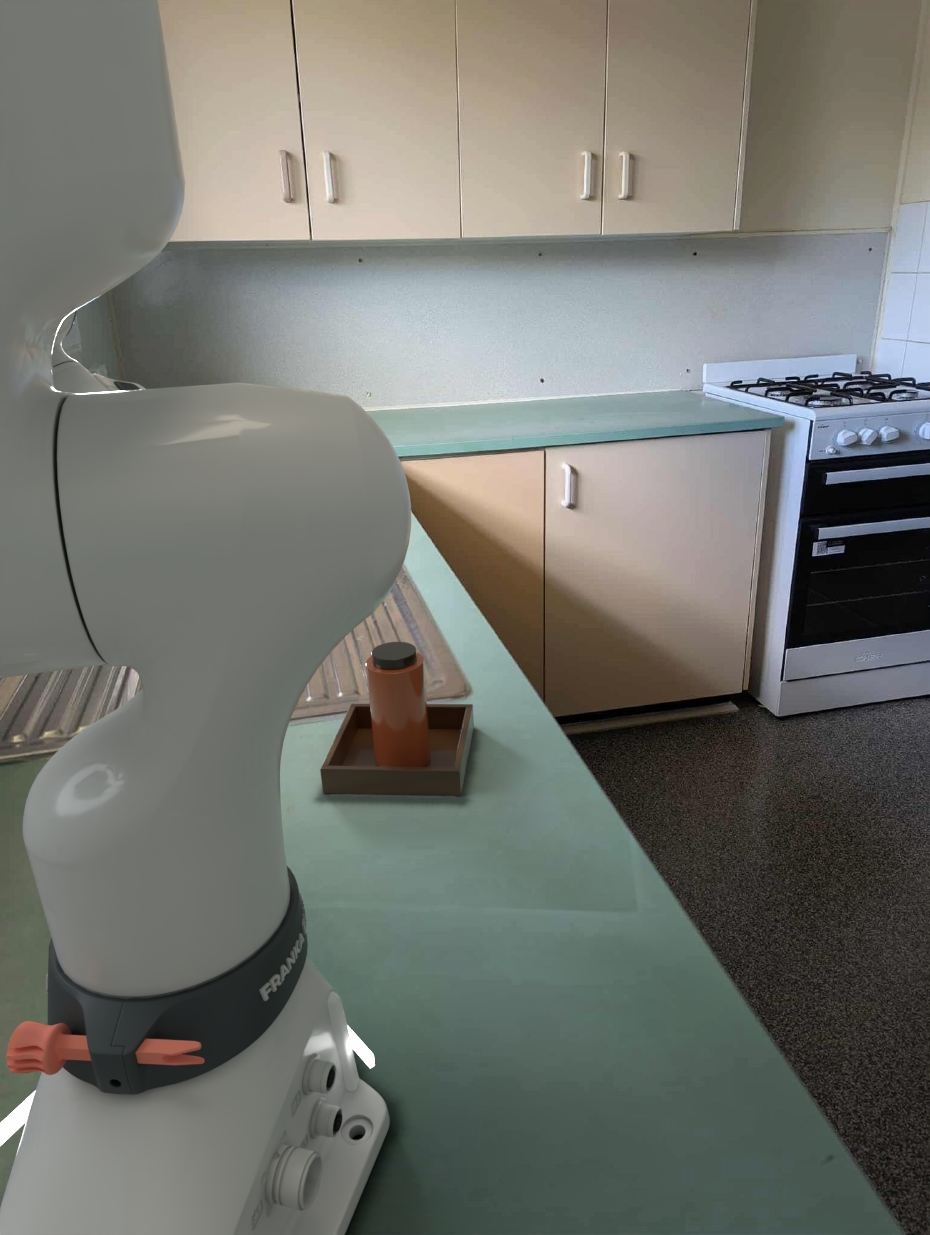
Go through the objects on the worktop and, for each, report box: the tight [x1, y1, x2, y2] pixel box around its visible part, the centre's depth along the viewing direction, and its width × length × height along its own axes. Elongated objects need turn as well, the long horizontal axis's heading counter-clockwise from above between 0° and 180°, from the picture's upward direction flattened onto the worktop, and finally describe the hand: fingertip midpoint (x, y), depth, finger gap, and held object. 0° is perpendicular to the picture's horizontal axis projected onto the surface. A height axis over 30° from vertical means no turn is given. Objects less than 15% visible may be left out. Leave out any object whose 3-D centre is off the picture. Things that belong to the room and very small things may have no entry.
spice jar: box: [365, 641, 431, 767], centre depth 80 cm, size 5×5×11 cm
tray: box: [319, 703, 475, 797], centre depth 81 cm, size 12×12×3 cm
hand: (193, 535), depth 77 cm, fingers open, 8 cm apart
